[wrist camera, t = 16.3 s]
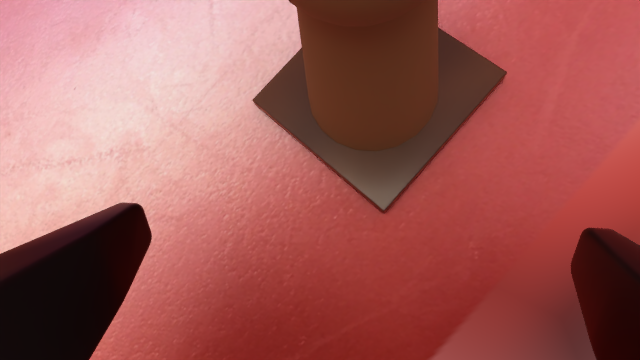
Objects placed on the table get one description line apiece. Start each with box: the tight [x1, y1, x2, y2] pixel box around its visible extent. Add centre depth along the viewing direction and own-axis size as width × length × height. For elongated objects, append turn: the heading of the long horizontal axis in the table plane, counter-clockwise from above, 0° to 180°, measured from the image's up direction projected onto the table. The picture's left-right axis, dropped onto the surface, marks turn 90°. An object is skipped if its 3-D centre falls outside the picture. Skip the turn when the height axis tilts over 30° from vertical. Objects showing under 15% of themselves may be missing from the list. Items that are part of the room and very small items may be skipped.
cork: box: [289, 0, 439, 151], centre depth 13 cm, size 6×6×11 cm
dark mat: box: [253, 28, 507, 213], centre depth 19 cm, size 8×8×1 cm
